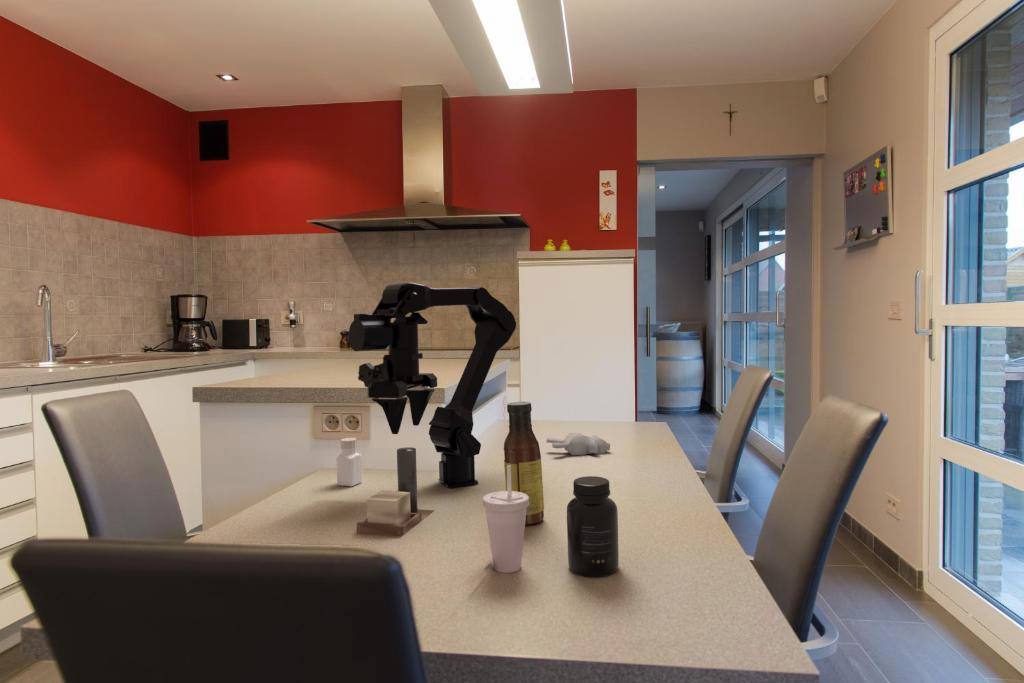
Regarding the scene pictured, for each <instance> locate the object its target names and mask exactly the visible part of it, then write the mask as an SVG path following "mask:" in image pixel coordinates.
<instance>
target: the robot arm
mask: <svg viewBox="0 0 1024 683" xmlns="http://www.w3.org/2000/svg"><path fill="white" fill-rule="evenodd" d="M448 306H465V307H466V308H467V310H468V312H469V317H470V319H471V320H472V321H473V323H474V324H475V328H474V331H473V332H474V339H475V344H474V346H473V349H472V351H471V354H470V356H469V358H468V360H467V363H466V365H465V367H464V370H463V372H462V374H461V377H460V379H459V381H458V384H457V386H456V388H455V390H454V393H453V395H452V397H451V400H450V402H448V404H447V405H446V406H445V407H443V406H437V407H436V408H435V410H434V414H433V416H432V419H431V420H430V421H429V423H428V425H430V427H429V430H428V435H429V439H430V441H431V443H432V444H433V446H434V449H435V451H436V453H440V460H439V461H438V475H439V478H438V482H440V483H441V484H442V485H444V486H446V487H447V488H451V489H452V488H457V487H463V486H470V485H476V484H479V480H477V479H476V474H475V473H476V471H475V470H476V469H475V468H476V466H475V456H476V455H479V454H480V451H481V448H482V443H481V442H480V441H479V439H477V438H476V437H475V436H474V435H473V434H472V432H473V428H474V419H473V418H474V416H473V410H474V407H475V405H476V403H477V401H478V398H479V396H480V393H481V391H482V388H483V386H484V384H485V381H486V379H487V376H488V374H489V371H490V369H491V367H492V364H493V362H494V359H495V357H496V355H497V353H498V352H499V351H500V350H501V348H502V347H503V346H505V345H506V344H507V343H508V342H509V341H510V339H511V337H512V336H513V334H514V332H515V331H516V328H517V321H516V318H515V316H514V314H513V312H512V311H511V310H509V309H508V308H507V307H506V305H505V304H504V303H502V302H501V301H499V299H497V298H496V297H494V296H492V294H491V293H490V292H489V291H488V290H487V289H486V288H485V287H483V286H469V287H435V288H434V287H431V286H427V285H425V284H421V283H415V282H410V281H409V282H400V283H391V284H388V285H386V286H385V288H384V289H383V291H382V294H381V299H380V301H379V302H378V303H377V306H376V307H375V308H374V310H373V311H372V313H371V314H368V313H354V314H353V321H352V322H351V323H350V325H349V329H348V331H347V338H348V339H347V340H348V343H349V346H350V348H351V349H352V350H353V351H354V352H366V351H368V352H370V351H381V350H382V351H384V350H387V349H388V354H384V356H383V357H382V363H381V362H380V363H379V364H375V365H373V364H372V363H370V362H367V363H363V364H360V365H358V372H357V373H358V376H357V379H358V381H361V382H363V385H364V387H365V388H367V398H369V399H371V400H372V402H374V403H376V404H378V405H379V406H380V407H381V408H382V410H383V413H384V415H385V418H386V420H387V423H388V424H387V425H388V426H389V428H390V431H391V434H392V435H398V434H399V432H400V429H401V425H402V421H403V418H404V414H405V410H406V406H407V402H408V401H409V407H410V415H411V422H412V425H413V426H419V425H420V423H421V421H422V418H423V417H424V416H423V415H424V413H425V411H426V409H427V406H428V404H429V402H430V400H431V397H432V395H433V394H434V392H435V388H438V377H437V375H435V373H429V372H427V373H426V372H420V359H421V360H422V359H423V358H424V357H423V352H419V348H420V346H419V325H427V324H428V322H429V321H428V320H427V319H426V318H425V317H423V316H422V314H421V313H420V312H421V311H424V310H425V311H426V310H427V309H430V308H432V307H448ZM408 314H409V316H408ZM392 319H394V320H393V322H392Z"/></svg>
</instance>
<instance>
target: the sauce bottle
mask: <svg viewBox="0 0 1024 683" xmlns="http://www.w3.org/2000/svg"><path fill="white" fill-rule="evenodd" d="M506 406H507V407H506V408H507V410H506V411H507V413H508V424H509V425H508V430H509V431H508V433H507V436H506V437H505V439H504V442H503V452H504V453H503V454H504V455H503V457H504V459H503V463H504V464H503V465H504V481H505V491H508V490H507V465H511V487H512V491H516V492H522V493H525V494H526V495H528V497H529V505H528V506H527V509H526V520H525V526H530V525H535V524H539V523H541V522H542V521H543V520H544V518H545V517H544V516H545V515H544V514H545V501H544V499H545V498H544V485H543V469H542V467H543V466H542V454H541V450H540V444H539V441H538V439H537V437H536V435H535V433H534V430H533V424H532V415H531V412H532V403H531V402H530V401H513V402H508V403H507V405H506Z"/></svg>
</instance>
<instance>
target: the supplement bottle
mask: <svg viewBox="0 0 1024 683" xmlns="http://www.w3.org/2000/svg"><path fill="white" fill-rule="evenodd" d="M572 483H573V484H572V485H573V486H572V487H573V492H572V494H573V498H572V499H571V500H569V502H568V503H567V506H566V533H567V534H566V535H567V536H566V537H567V563H568V564H567V565H568V567H569V569H570V570H571V572H573V573H574V574H576V575H579V576H581V577H586V578H603V577H608V576H611V575H613V574H615V572H616V571H618V568H619V564H620V563H619V554H620V553H619V552H620V551H619V512H618V506H617V504H616V502H615V501H614V500H613V499H611V498H610V497H609V496H610V495H611V489H610V481H609V479H608V478H605V477H601V476H597V475H596V476H593V475H590V476H589V475H588V476H580V477H576V478H575V479H574V480H573V482H572Z"/></svg>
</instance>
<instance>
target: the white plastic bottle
mask: <svg viewBox="0 0 1024 683" xmlns="http://www.w3.org/2000/svg"><path fill="white" fill-rule="evenodd" d="M357 447H358V445H357V438H356V437H345V438H342V439H341V438H340V449H341V453H340V454H339V455H337V456H336V482H337V485H338V486H343V487H353V486H356V485H358V484H361V483H362V482H363V459H362V458H363V456H362V454H361V453H358V452H357Z"/></svg>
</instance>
